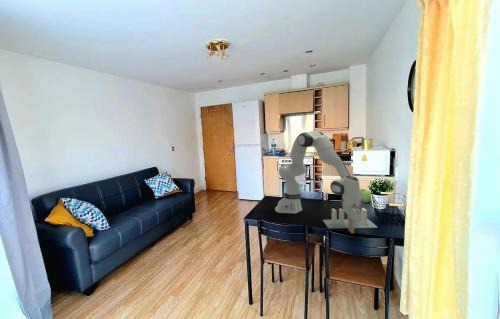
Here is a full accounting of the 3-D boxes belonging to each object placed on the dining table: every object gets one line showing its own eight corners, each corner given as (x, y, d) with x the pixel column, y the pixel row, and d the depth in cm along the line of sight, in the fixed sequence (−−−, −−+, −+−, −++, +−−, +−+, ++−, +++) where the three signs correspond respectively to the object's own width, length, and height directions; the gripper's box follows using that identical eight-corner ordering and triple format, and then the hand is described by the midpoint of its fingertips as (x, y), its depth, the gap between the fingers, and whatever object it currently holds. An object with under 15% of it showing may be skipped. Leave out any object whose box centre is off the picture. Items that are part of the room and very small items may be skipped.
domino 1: (333, 225, 152) (334, 211, 151) (331, 222, 157) (331, 208, 156) (336, 225, 152) (336, 211, 151) (334, 222, 157) (334, 208, 156)
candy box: (359, 206, 186) (359, 187, 184) (362, 209, 180) (362, 189, 178) (342, 207, 187) (342, 188, 185) (344, 209, 182) (344, 189, 179)
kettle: (374, 204, 190) (375, 191, 189) (356, 203, 193) (357, 191, 192) (369, 198, 204) (370, 187, 203) (353, 198, 208) (353, 186, 206)
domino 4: (364, 224, 151) (364, 210, 150) (360, 221, 156) (361, 207, 155) (366, 224, 151) (367, 210, 149) (363, 221, 156) (363, 207, 154)
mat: (328, 228, 148) (328, 228, 148) (322, 220, 162) (322, 219, 162) (377, 228, 146) (377, 227, 146) (367, 219, 160) (368, 218, 160)
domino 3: (351, 233, 140) (351, 218, 139) (348, 230, 145) (348, 215, 144) (354, 233, 140) (354, 218, 138) (351, 230, 145) (351, 215, 143)
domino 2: (341, 225, 152) (341, 211, 151) (338, 222, 157) (339, 208, 156) (344, 225, 152) (344, 211, 150) (341, 222, 157) (341, 208, 155)
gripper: (364, 207, 129) (363, 230, 131) (350, 197, 150) (350, 216, 151) (353, 207, 130) (352, 230, 131) (340, 197, 150) (340, 216, 152)
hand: (351, 222), depth 142 cm, fingers closed on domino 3, 5 cm apart
